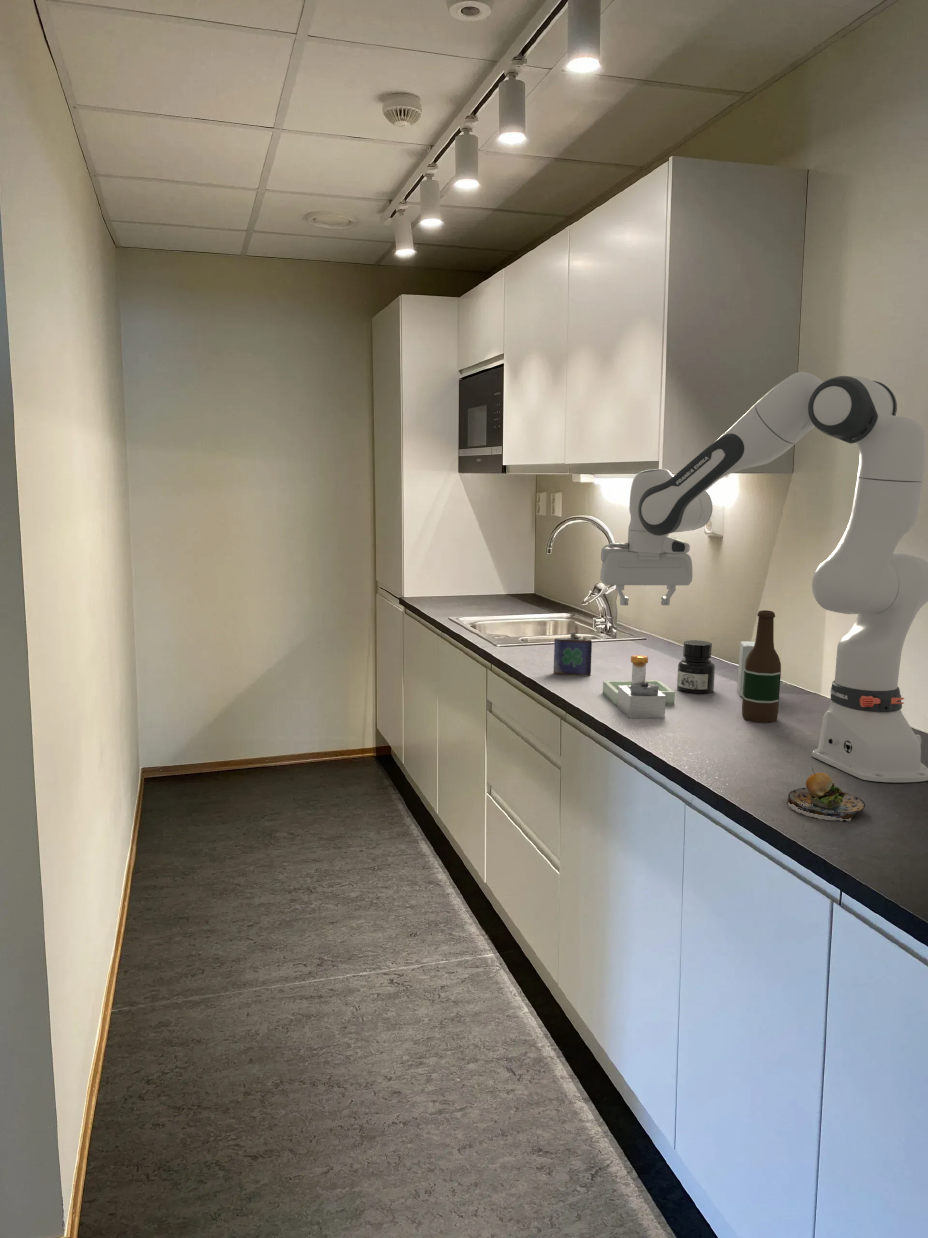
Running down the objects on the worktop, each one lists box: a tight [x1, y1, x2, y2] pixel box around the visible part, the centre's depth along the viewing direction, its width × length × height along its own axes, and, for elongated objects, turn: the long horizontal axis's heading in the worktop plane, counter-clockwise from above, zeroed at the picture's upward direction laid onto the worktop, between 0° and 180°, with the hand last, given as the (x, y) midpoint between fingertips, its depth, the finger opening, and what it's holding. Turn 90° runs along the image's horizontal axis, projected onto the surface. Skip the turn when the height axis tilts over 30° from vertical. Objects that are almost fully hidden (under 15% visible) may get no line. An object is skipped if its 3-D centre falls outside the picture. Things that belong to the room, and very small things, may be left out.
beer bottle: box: [741, 609, 782, 724], centre depth 204 cm, size 8×8×24 cm
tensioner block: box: [616, 682, 666, 719], centre depth 209 cm, size 10×8×7 cm
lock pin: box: [630, 654, 649, 684], centre depth 211 cm, size 4×4×12 cm
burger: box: [787, 765, 866, 820], centre depth 151 cm, size 12×12×8 cm
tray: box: [602, 679, 676, 706], centre depth 222 cm, size 12×14×3 cm
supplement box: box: [736, 640, 755, 698], centre depth 227 cm, size 7×7×13 cm
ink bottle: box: [676, 639, 716, 694], centre depth 231 cm, size 10×9×12 cm
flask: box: [553, 630, 593, 677], centre depth 247 cm, size 10×3×12 cm, turn 79°
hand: (644, 605), depth 208 cm, fingers open, 8 cm apart
